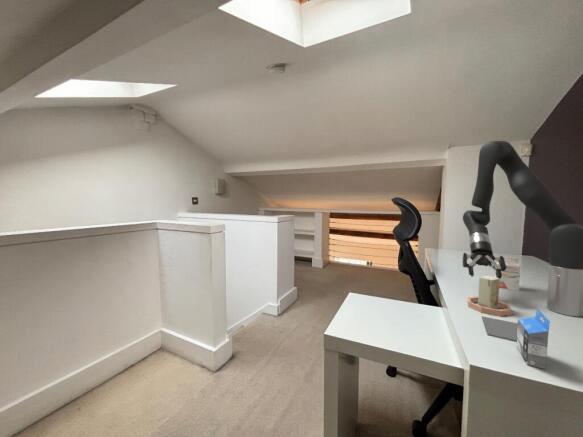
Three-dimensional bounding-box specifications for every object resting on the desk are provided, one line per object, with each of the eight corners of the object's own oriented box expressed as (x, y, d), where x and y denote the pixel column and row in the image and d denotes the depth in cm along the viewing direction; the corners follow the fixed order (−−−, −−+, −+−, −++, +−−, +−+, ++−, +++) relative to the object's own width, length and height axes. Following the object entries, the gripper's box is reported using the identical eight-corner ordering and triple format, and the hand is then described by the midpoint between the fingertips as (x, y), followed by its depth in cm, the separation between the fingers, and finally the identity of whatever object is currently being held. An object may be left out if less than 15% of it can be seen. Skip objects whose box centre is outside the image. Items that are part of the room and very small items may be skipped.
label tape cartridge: (515, 347, 68) (517, 304, 68) (534, 351, 66) (536, 307, 66) (526, 365, 61) (528, 317, 60) (547, 370, 59) (550, 321, 58)
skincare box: (490, 312, 90) (491, 280, 90) (477, 307, 94) (478, 277, 94) (498, 308, 93) (500, 277, 93) (485, 304, 97) (486, 275, 97)
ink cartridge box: (495, 287, 117) (497, 257, 117) (494, 284, 122) (495, 255, 121) (519, 290, 113) (521, 259, 112) (516, 287, 117) (518, 257, 116)
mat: (527, 326, 80) (527, 325, 80) (541, 347, 68) (541, 346, 68) (481, 317, 86) (481, 316, 86) (487, 335, 74) (487, 333, 74)
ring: (506, 306, 96) (506, 301, 96) (513, 318, 85) (514, 313, 85) (466, 299, 103) (466, 294, 103) (469, 310, 92) (469, 305, 92)
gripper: (462, 239, 108) (465, 270, 99) (503, 241, 102) (510, 274, 92) (460, 248, 113) (462, 279, 104) (498, 251, 107) (505, 284, 97)
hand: (485, 277), depth 98 cm, fingers open, 8 cm apart
